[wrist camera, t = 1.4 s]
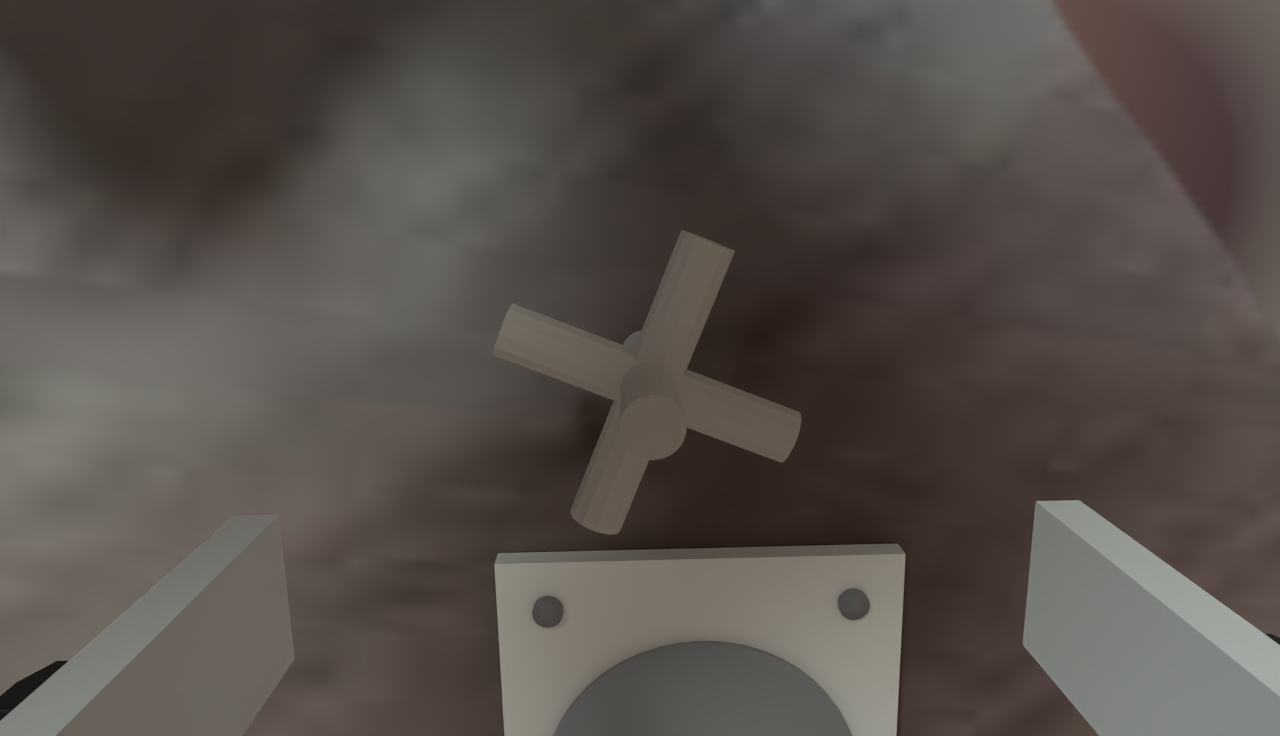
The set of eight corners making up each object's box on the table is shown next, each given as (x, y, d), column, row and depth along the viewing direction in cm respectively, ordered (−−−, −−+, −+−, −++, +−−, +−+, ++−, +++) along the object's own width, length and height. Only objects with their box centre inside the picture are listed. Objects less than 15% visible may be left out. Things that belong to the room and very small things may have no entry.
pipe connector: (818, 278, 33) (899, 323, 23) (716, 512, 35) (751, 645, 25) (566, 179, 32) (541, 182, 22) (477, 425, 34) (417, 528, 24)
